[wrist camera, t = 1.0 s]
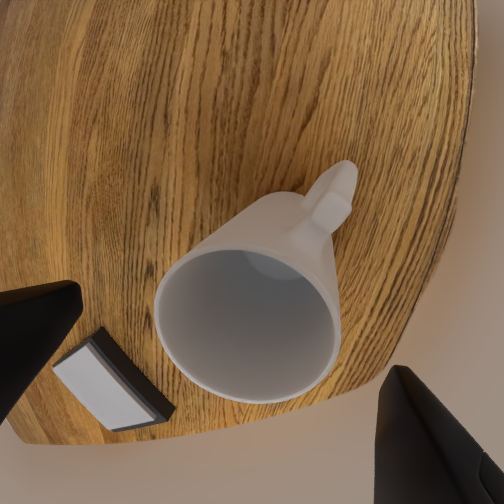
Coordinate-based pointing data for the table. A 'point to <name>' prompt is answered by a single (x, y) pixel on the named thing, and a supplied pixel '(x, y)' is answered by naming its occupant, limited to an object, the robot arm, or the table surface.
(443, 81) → the table surface
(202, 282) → the mug
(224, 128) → the table surface
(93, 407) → the scale
